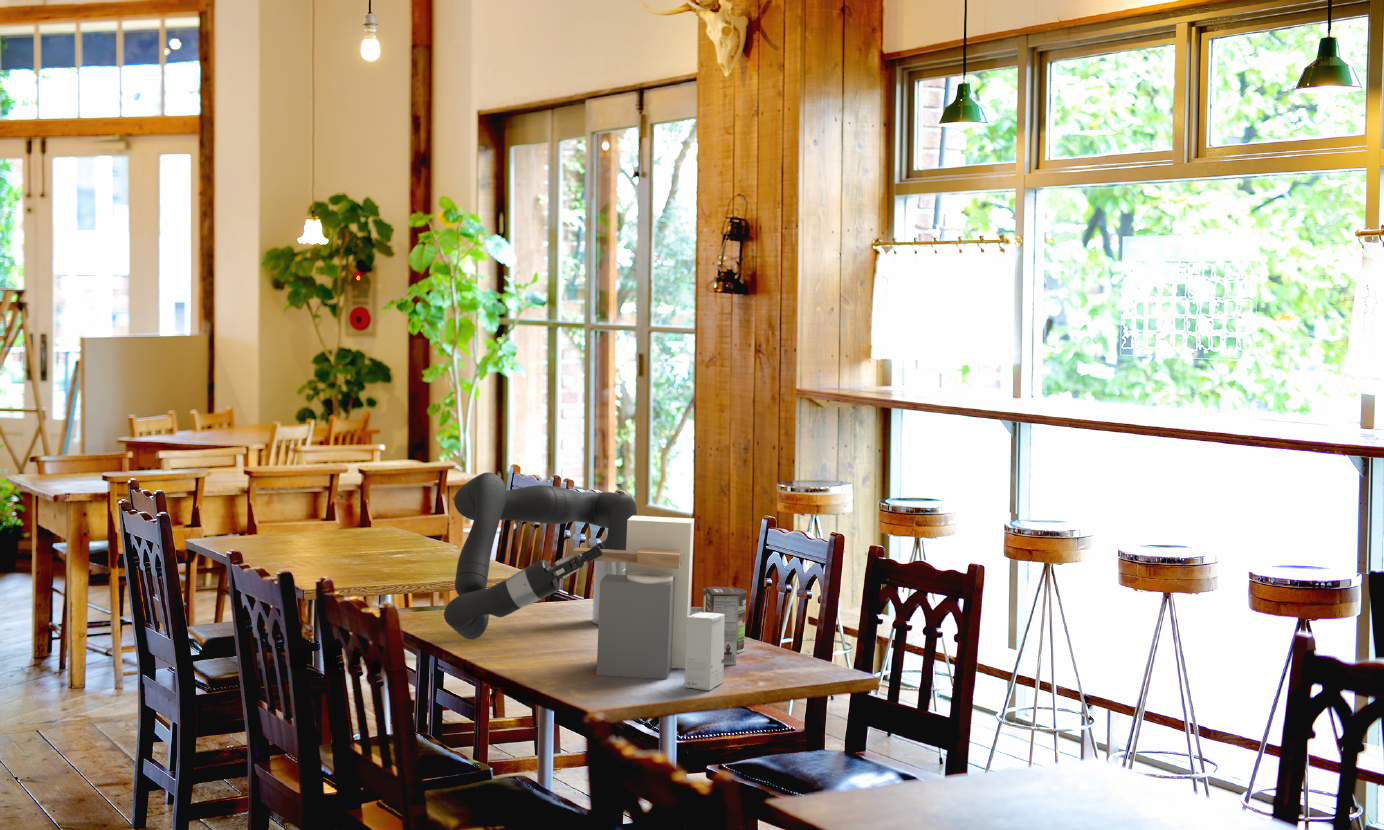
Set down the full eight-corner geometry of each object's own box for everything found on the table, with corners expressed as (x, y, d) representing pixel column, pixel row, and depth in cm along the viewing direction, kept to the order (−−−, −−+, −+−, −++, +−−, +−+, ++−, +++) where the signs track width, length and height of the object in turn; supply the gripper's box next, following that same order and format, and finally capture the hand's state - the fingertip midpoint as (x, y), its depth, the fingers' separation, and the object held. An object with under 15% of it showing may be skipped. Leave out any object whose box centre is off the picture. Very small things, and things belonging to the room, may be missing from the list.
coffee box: (702, 655, 299) (705, 586, 298) (729, 656, 300) (732, 586, 300) (709, 665, 290) (712, 593, 289) (737, 665, 291) (740, 593, 290)
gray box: (603, 664, 286) (606, 569, 286) (671, 668, 285) (675, 572, 285) (596, 674, 277) (600, 576, 276) (666, 678, 275) (670, 580, 275)
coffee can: (750, 647, 310) (752, 588, 310) (736, 656, 300) (738, 595, 300) (709, 642, 314) (711, 584, 313) (694, 651, 304) (696, 590, 303)
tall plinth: (626, 656, 296) (632, 515, 295) (688, 659, 295) (694, 518, 293) (621, 664, 287) (627, 519, 286) (685, 668, 286) (691, 523, 285)
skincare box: (709, 691, 266) (712, 619, 266) (682, 687, 268) (685, 615, 268) (724, 682, 274) (726, 612, 274) (697, 679, 276) (700, 609, 276)
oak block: (576, 558, 285) (577, 544, 285) (681, 564, 283) (682, 550, 283) (571, 562, 278) (572, 548, 278) (678, 568, 276) (679, 554, 276)
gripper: (517, 573, 275) (589, 536, 274) (531, 563, 289) (599, 529, 288) (533, 605, 275) (605, 568, 274) (546, 594, 289) (614, 559, 288)
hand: (601, 548), depth 281 cm, fingers closed on oak block, 4 cm apart
